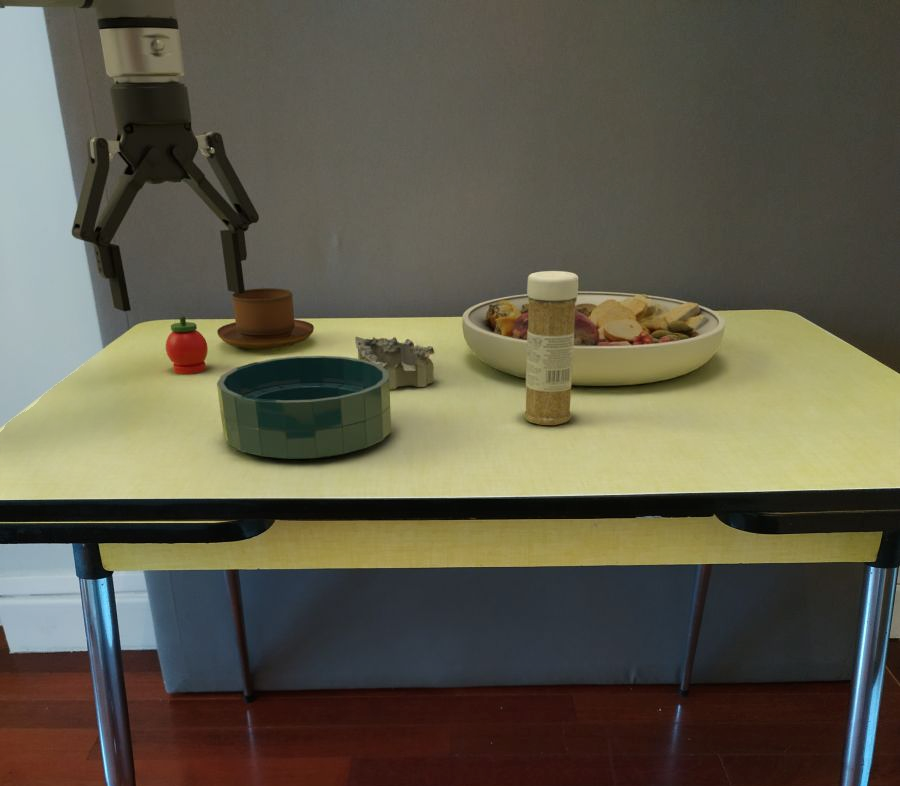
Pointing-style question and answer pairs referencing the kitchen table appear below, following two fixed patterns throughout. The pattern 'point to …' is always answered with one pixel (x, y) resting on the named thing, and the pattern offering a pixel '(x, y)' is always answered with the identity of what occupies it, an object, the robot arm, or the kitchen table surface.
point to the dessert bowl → (305, 406)
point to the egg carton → (399, 360)
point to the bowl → (603, 337)
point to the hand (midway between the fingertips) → (181, 300)
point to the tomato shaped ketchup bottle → (186, 348)
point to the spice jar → (550, 346)
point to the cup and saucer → (264, 320)
